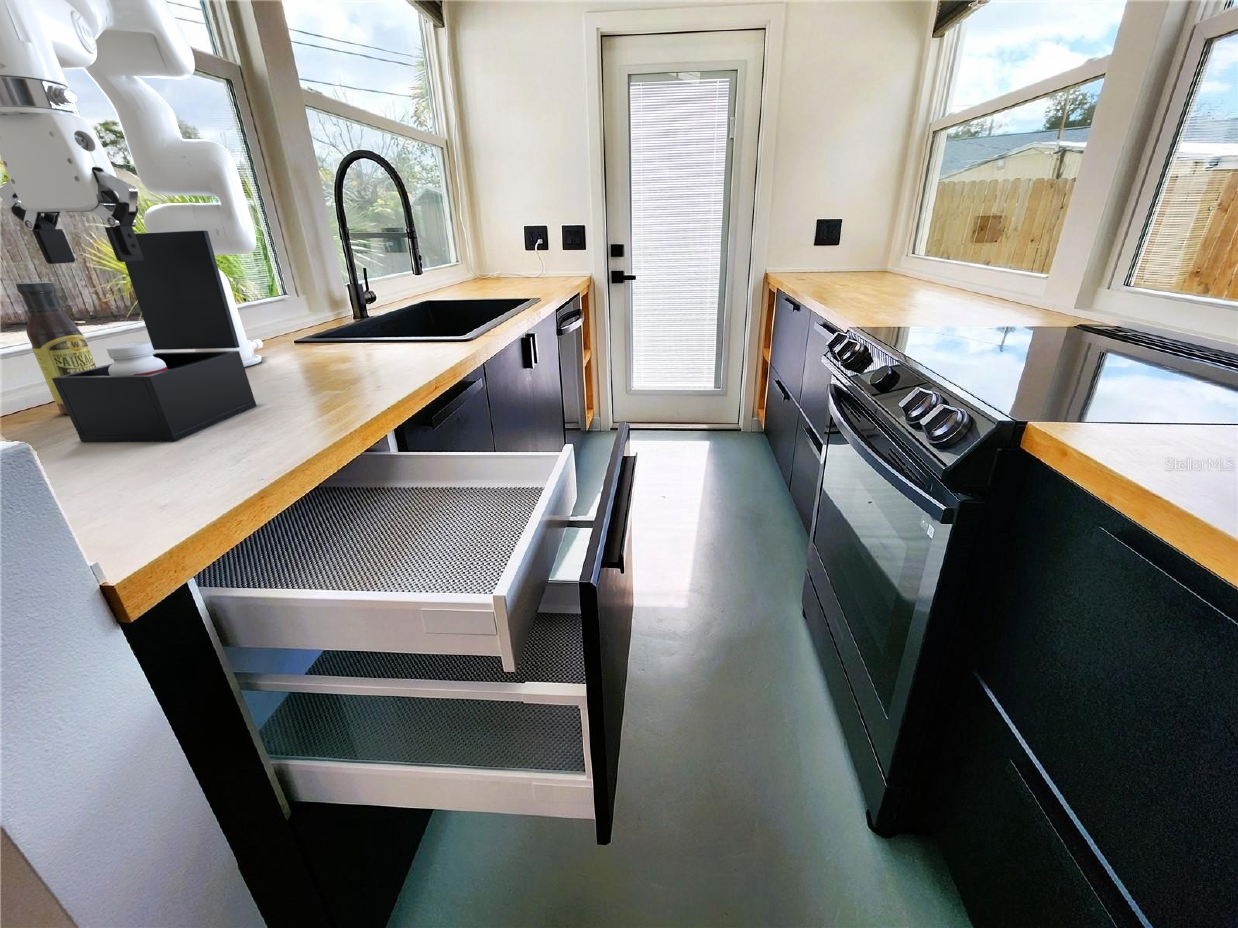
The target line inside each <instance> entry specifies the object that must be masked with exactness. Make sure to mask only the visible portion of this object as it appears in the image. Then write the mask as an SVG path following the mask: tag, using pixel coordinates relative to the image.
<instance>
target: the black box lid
mask: <svg viewBox="0 0 1238 928" xmlns="http://www.w3.org/2000/svg"><path fill="white" fill-rule="evenodd" d="M134 233H135V232H134ZM135 236H136V238H137V241H138V244H139V246H140V249H141V252H142V254H143V257H144V260H142V261H131V262H124V265H125V268H126V271H127V274H128V277H129V279H130V282H131V286H132V289H133V291H134V295H135V297H136V300H137V304H138V308H139V311H140V313H141V316H142V319H143V322H144V326H145V329H146V331H147V333H148V337H149V340H150V343H151V345H152V347H153V349H154V351H167V350H169V351H170V350H171V351H172V350H195V349H219V348H239V347H240V346H239V342H238V339H237V335H236V331H235V328H234V324H233V321H232V317H231V313H230V310H229V306H228V302H227V299H226V295H225V292H224V288H223V284H222V281H221V277H220V273H219V270H218V269H219V267H218V266H219V265H218V263H217V258H216V255H214V252H213V248H212V244H211V241H210V237H209V233H208V231H204V230H202V231H179V232H155V233H147V232H136V233H135Z"/></svg>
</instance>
